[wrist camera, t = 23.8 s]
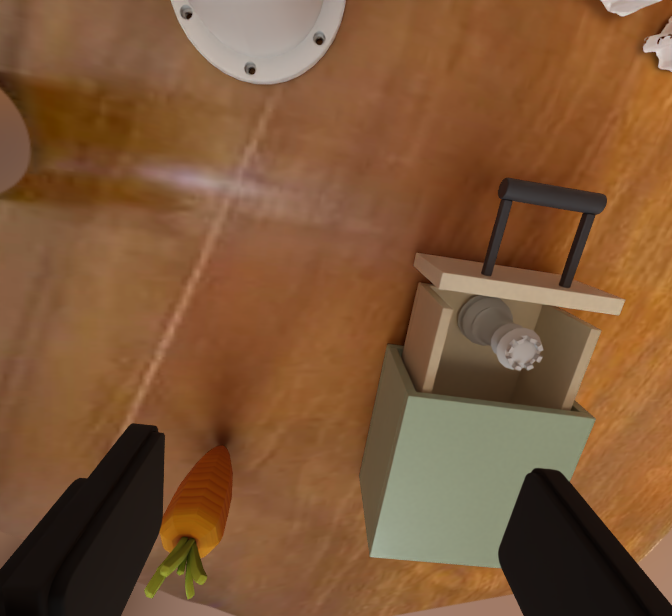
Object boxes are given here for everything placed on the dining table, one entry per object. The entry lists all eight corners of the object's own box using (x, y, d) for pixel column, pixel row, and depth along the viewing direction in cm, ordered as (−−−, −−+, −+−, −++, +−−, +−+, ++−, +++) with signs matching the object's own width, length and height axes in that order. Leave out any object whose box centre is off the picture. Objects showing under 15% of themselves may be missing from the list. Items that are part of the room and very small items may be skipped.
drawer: (433, 171, 32) (467, 168, 24) (587, 198, 33) (664, 202, 25) (383, 398, 38) (399, 450, 31) (513, 413, 39) (558, 467, 32)
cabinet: (387, 343, 37) (408, 395, 28) (531, 362, 39) (596, 418, 29) (359, 475, 42) (369, 557, 33) (488, 489, 43) (533, 571, 34)
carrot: (252, 434, 40) (214, 574, 26) (239, 472, 41) (195, 625, 27) (204, 420, 39) (138, 557, 25) (192, 459, 41) (123, 610, 26)
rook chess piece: (485, 348, 36) (530, 393, 28) (446, 325, 35) (480, 365, 27) (516, 308, 35) (570, 343, 27) (476, 283, 34) (521, 313, 26)
